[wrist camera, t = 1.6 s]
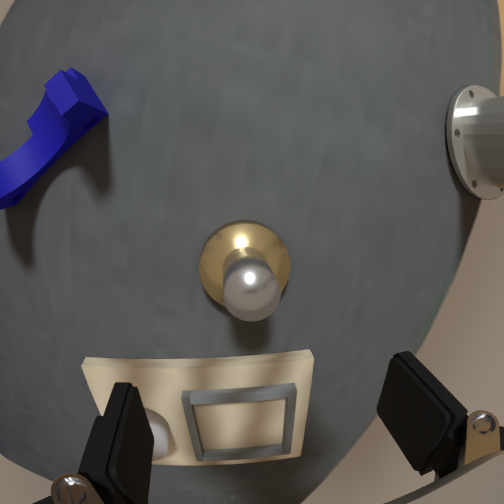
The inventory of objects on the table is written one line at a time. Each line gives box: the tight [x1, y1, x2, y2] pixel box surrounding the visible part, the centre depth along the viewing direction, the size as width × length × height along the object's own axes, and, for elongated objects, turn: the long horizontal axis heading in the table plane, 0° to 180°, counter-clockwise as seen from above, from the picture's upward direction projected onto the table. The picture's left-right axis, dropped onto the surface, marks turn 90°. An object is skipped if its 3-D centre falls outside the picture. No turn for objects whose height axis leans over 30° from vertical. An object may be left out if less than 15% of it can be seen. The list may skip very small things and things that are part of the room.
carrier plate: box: [81, 349, 314, 465], centre depth 27 cm, size 22×16×4 cm
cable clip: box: [0, 68, 108, 210], centre depth 17 cm, size 12×4×6 cm, turn 123°
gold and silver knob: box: [199, 220, 290, 321], centre depth 22 cm, size 7×7×6 cm
